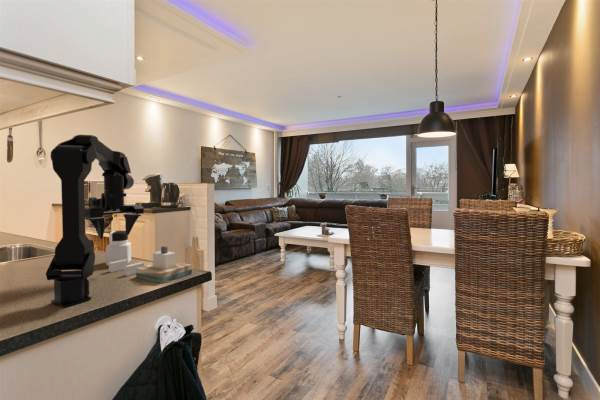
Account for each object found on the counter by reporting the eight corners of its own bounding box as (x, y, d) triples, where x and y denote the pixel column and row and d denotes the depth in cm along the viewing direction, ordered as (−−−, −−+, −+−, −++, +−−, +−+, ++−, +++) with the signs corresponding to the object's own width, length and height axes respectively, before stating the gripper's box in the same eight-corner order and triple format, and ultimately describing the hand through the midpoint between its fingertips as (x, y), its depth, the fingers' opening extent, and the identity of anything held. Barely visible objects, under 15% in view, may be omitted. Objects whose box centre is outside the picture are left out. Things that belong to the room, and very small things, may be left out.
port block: (162, 283, 98) (162, 273, 98) (136, 277, 104) (136, 268, 104) (191, 273, 109) (191, 264, 109) (166, 268, 115) (166, 260, 114)
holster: (127, 275, 105) (127, 266, 105) (108, 271, 110) (108, 262, 109) (143, 271, 110) (143, 262, 110) (125, 267, 115) (125, 259, 115)
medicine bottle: (131, 260, 126) (131, 229, 125) (127, 264, 119) (127, 232, 118) (110, 261, 124) (110, 229, 123) (105, 265, 117) (105, 232, 116)
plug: (165, 273, 103) (165, 248, 103) (153, 271, 106) (152, 246, 106) (175, 270, 107) (175, 246, 106) (163, 268, 110) (163, 244, 109)
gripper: (124, 189, 120) (125, 231, 121) (70, 190, 103) (71, 238, 104) (144, 190, 115) (145, 233, 116) (90, 191, 98) (91, 241, 99)
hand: (114, 236), depth 109 cm, fingers open, 9 cm apart
